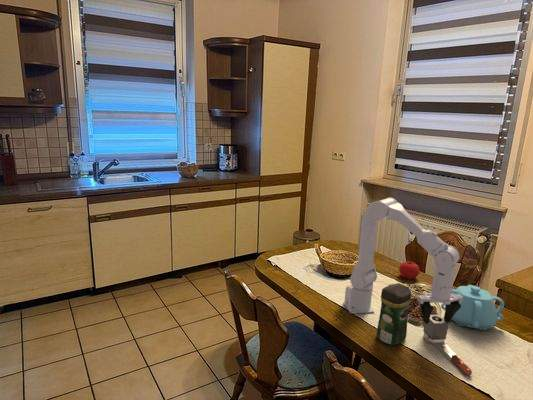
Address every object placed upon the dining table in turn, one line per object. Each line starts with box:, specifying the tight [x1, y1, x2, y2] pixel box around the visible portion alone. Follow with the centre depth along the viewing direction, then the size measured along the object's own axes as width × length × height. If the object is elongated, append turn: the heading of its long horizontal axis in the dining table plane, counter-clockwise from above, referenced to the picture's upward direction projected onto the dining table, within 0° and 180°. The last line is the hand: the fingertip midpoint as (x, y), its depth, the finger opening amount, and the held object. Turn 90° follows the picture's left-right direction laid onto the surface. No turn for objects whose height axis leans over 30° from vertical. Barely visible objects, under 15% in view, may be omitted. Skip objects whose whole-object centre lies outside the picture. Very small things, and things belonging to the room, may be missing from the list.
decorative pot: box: [440, 284, 505, 331], centre depth 132 cm, size 16×16×14 cm
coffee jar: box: [376, 282, 412, 346], centre depth 119 cm, size 10×8×19 cm
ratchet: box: [422, 331, 473, 376], centre depth 114 cm, size 21×6×4 cm, turn 8°
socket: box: [422, 314, 449, 340], centre depth 121 cm, size 5×5×6 cm
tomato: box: [398, 260, 420, 280], centre depth 168 cm, size 9×9×8 cm
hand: (436, 321), depth 120 cm, fingers open, 7 cm apart
